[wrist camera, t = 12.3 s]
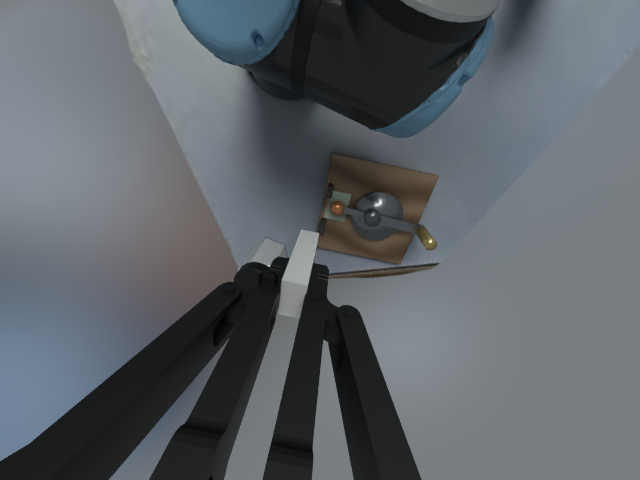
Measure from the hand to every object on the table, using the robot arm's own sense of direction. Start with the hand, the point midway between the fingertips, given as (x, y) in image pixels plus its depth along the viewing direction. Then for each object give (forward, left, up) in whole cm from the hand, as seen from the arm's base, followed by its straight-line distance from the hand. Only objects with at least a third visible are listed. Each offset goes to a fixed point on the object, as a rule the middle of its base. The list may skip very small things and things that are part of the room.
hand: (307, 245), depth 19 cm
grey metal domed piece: (+6, +11, -28) cm, 30 cm away
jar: (+22, -10, -30) cm, 38 cm away
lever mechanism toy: (+6, +10, -29) cm, 32 cm away
